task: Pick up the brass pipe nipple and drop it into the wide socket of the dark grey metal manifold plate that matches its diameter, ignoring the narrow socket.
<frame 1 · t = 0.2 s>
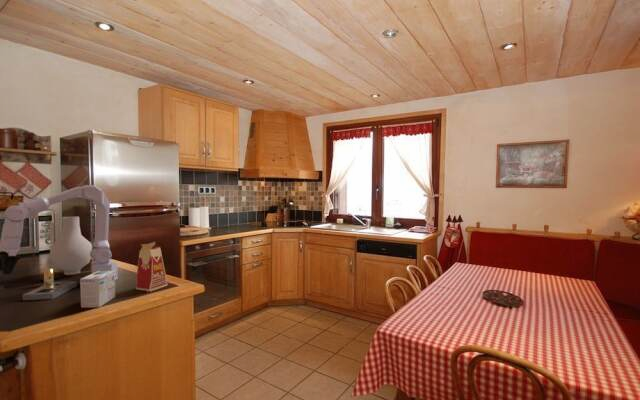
hand: (5, 272, 122), 10 cm above the kitchen counter, tool pointing down, fingers open, 7 cm apart
manifold plate: (51, 292, 129), on the kitchen counter
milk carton: (151, 287, 138), on the kitchen counter
vase: (72, 273, 158), on the kitchen counter
brass nipple: (49, 284, 140), on the kitchen counter
light bulb box: (98, 302, 120), on the kitchen counter
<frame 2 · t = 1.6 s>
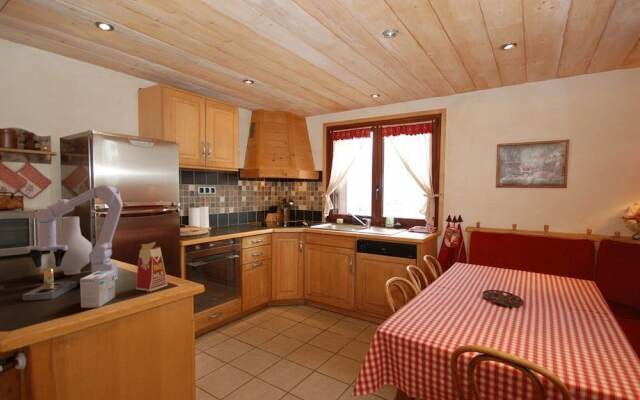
hand: (48, 266, 140), 8 cm above the kitchen counter, tool pointing down, fingers open, 7 cm apart
nothing on the kitchen counter moved.
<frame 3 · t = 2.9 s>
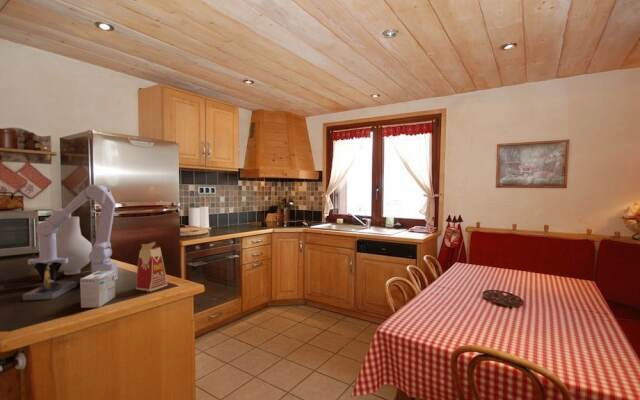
hand: (48, 279, 140), 2 cm above the kitchen counter, tool pointing down, fingers closed on brass nipple, 3 cm apart
brass nipple: (49, 284, 140), on the kitchen counter, touching gripper
everything else where it was.
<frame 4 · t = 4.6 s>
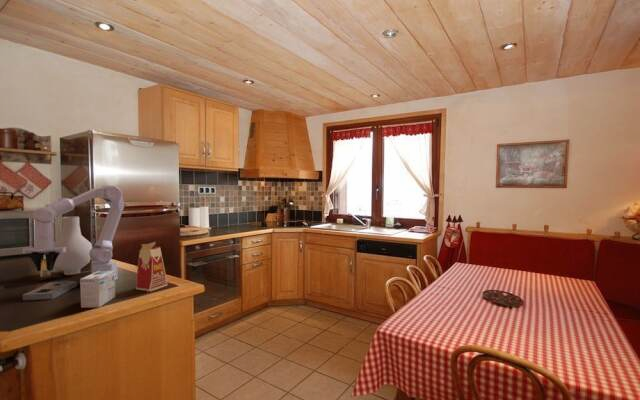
hand: (45, 270, 129), 9 cm above the kitchen counter, tool pointing down, fingers closed on brass nipple, 3 cm apart
brass nipple: (45, 275, 129), point 7 cm above the kitchen counter, touching gripper
everything else where it was.
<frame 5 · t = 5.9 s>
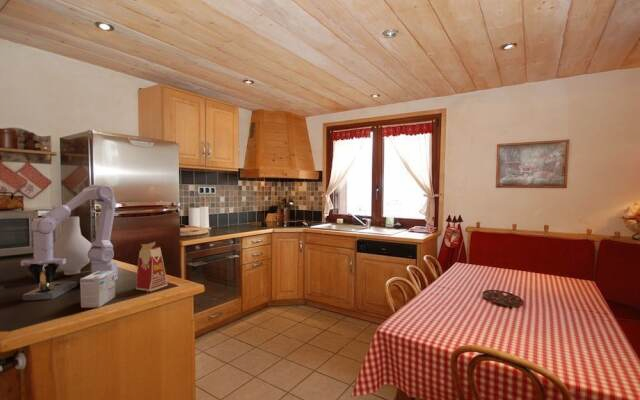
hand: (44, 282, 125), 5 cm above the kitchen counter, tool pointing down, fingers closed on brass nipple, 3 cm apart
brass nipple: (44, 288, 126), point 3 cm above the kitchen counter, touching gripper
everything else where it was.
when the fingers open (3 cm above the kitchen counter, at t = 6.7 s): brass nipple drops 1 cm, resting in manifold plate.
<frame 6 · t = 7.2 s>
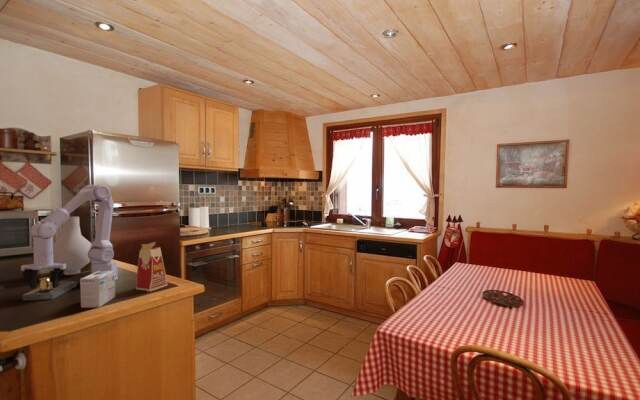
hand: (44, 287, 125), 3 cm above the kitchen counter, tool pointing down, fingers open, 7 cm apart
brass nipple: (45, 296, 126), resting in manifold plate
everything else where it was.
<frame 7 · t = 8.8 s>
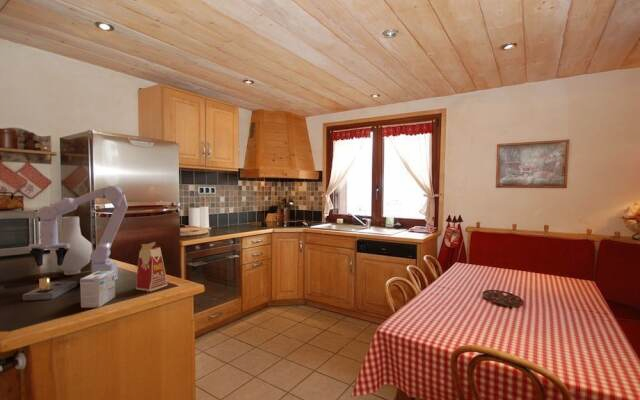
hand: (50, 265, 137), 9 cm above the kitchen counter, tool pointing down, fingers open, 7 cm apart
nothing on the kitchen counter moved.
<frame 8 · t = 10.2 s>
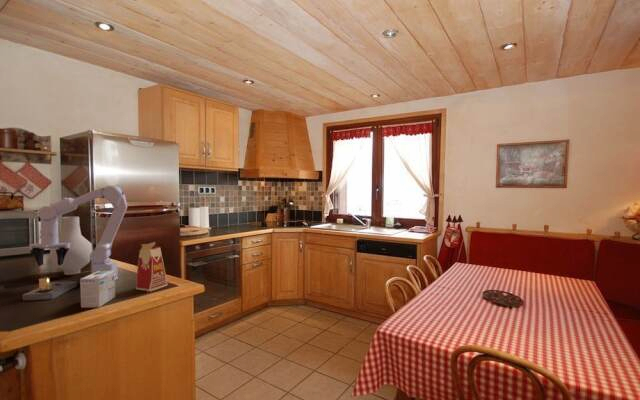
hand: (50, 264, 138), 9 cm above the kitchen counter, tool pointing down, fingers open, 7 cm apart
nothing on the kitchen counter moved.
at the end: brass nipple 0.2 cm from the target spot on the manifold plate, point 0.0 cm above the manifold plate's base; brass nipple tilted 0°; the gripper is holding nothing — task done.
